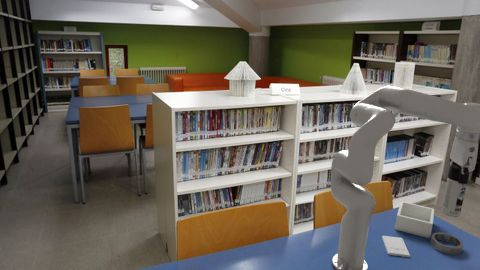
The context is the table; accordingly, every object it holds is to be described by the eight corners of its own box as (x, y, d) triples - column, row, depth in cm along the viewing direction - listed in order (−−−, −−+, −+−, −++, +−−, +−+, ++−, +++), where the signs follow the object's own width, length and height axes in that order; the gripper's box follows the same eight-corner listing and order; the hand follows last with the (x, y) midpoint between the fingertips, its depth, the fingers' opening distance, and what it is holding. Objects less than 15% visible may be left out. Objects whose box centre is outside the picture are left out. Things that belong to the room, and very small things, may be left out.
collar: (461, 257, 138) (463, 251, 137) (429, 248, 143) (431, 242, 143) (461, 244, 147) (462, 237, 147) (431, 236, 153) (432, 229, 152)
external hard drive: (401, 241, 150) (409, 258, 138) (381, 238, 151) (387, 255, 139) (402, 237, 149) (410, 255, 137) (382, 235, 150) (388, 252, 139)
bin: (429, 238, 151) (432, 224, 149) (394, 229, 157) (396, 215, 156) (431, 222, 164) (434, 208, 162) (399, 214, 171) (401, 201, 169)
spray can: (455, 219, 138) (466, 171, 132) (437, 212, 143) (447, 165, 137) (462, 214, 142) (473, 167, 136) (444, 207, 147) (454, 162, 141)
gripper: (491, 143, 125) (480, 189, 130) (464, 130, 142) (455, 171, 146) (469, 141, 125) (459, 188, 130) (445, 129, 142) (436, 170, 147)
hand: (457, 179), depth 138 cm, fingers closed on spray can, 6 cm apart
